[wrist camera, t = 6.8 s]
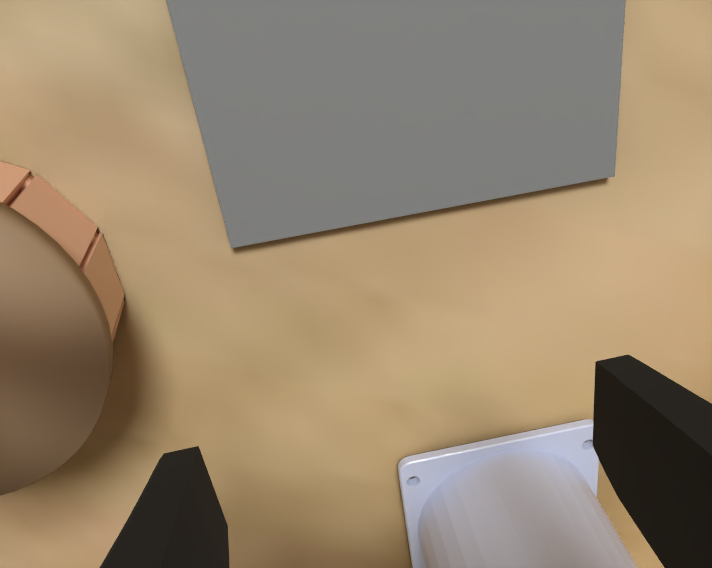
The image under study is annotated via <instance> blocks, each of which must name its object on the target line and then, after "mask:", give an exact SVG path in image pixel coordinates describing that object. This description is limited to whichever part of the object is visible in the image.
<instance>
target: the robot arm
mask: <svg viewBox="0 0 712 568" xmlns="http://www.w3.org/2000/svg"><path fill="white" fill-rule="evenodd" d="M587 440H588V441H587ZM585 441H587V442H585ZM599 460H600V462H601V464H602V466H603V469H604V471H605V473H606V475H607V477H608V479H609V481H610V482H611V484H612V486H613V488H614V490H615V492H616V494H617V496H618V498H619V499H620V501H621V502H622V504H623V505H624V507H625V508H626V510H627V512H628V513H629V515H630V516H631V518H632V519H633V521H634V522H635V524H636V525H637V527H638V528H639V530H640V531H641V533H642V534H643V536H644V537H645V539H646V540H647V542H648V543H649V545H650V546H651V548H652V549H653V551H654V552H655V554H656V555H657V557H658V558H659V560H660V561H661V563H662V564H663V566H664V567H665V568H712V404H711V403H709V402H708V401H706V400H704V399H703V398H701V397H699V396H697V395H696V394H694V393H692V392H691V391H689V390H687V389H686V388H684V387H682V386H681V385H679V384H677V383H676V382H674V381H672V380H671V379H669V378H667V377H666V376H664V375H662V374H661V373H659V372H657V371H656V370H654V369H652V368H651V367H649V366H647V365H646V364H644V363H642V362H640V361H639V360H637V359H635V358H633V357H632V356H630V355H624V356H620V357H615V358H610V359H606V360H601V361H596V366H595V392H594V419H593V420H591V419H585V420H580V421H576V422H571V423H566V424H561V425H556V426H551V427H547V428H542V429H537V430H532V431H527V432H523V433H518V434H513V435H508V436H503V437H498V438H494V439H489V440H484V441H479V442H474V443H470V444H465V445H460V446H455V447H450V448H446V449H441V450H436V451H431V452H426V453H421V454H417V455H412V456H408V457H405V458H403V459H402V460H401V461H400V462H399V464H398V475H399V482H400V488H401V495H402V502H403V509H404V516H405V522H406V529H407V536H408V543H409V549H410V556H411V563H412V568H638V567H637V565H636V563H635V562H634V560H633V558H632V557H631V555H630V553H629V552H628V550H627V548H626V547H625V545H624V543H623V542H622V540H621V538H620V537H619V535H618V533H617V532H616V530H615V528H614V527H613V525H612V523H611V521H610V520H609V518H608V516H607V515H606V513H605V511H604V510H603V508H602V506H601V505H600V503H599V501H598V500H597V485H598V469H599ZM413 476H416V477H415V478H412V479H409V478H410V477H413ZM100 568H229V546H228V525H227V523H226V520H225V517H224V515H223V512H222V509H221V506H220V504H219V501H218V498H217V496H216V493H215V490H214V487H213V485H212V482H211V479H210V476H209V474H208V471H207V468H206V466H205V463H204V460H203V457H202V455H201V452H200V449H199V446H197V447H193V448H188V449H183V450H178V451H174V452H169V453H164V454H163V456H162V457H161V458H160V460H159V462H158V463H157V465H156V467H155V469H154V471H153V473H152V475H151V477H150V479H149V481H148V483H147V485H146V486H145V488H144V490H143V492H142V494H141V496H140V498H139V500H138V502H137V503H136V505H135V507H134V509H133V511H132V513H131V514H130V516H129V518H128V520H127V522H126V523H125V525H124V527H123V529H122V530H121V532H120V534H119V536H118V537H117V539H116V541H115V542H114V544H113V546H112V548H111V549H110V551H109V553H108V555H107V556H106V558H105V560H104V561H103V563H102V565H101V566H100Z"/></svg>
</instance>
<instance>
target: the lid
mask: <svg viewBox="0 0 712 568" xmlns="http://www.w3.org/2000/svg"><path fill="white" fill-rule="evenodd" d="M112 368H113V341H112V337H111V332H110V327H109V322H108V319H107V317H106V314H105V311H104V308H103V306H102V303H101V301H100V299H99V297H98V295H97V293H96V292H95V290H94V288H93V286H92V284H91V282H90V281H89V279H88V278H87V277H86V275H85V274H84V273H83V271H82V270H81V268H80V267H79V266H78V264H77V263H76V262H75V261H74V259H73V258H72V257H71V256H70V255H69V254H68V253H67V252H66V251H65V250H64V249H63V248H62V247H61V245H60V244H59V243H58V242H57V241H55V240H54V239H53V238H52V237H51V236H49V235H48V234H47V233H46V232H45V231H44V230H42V229H41V228H40V227H39V226H38V225H37V224H35V223H34V222H32V221H31V220H29V219H28V218H26V217H25V216H23V215H22V214H20V213H19V212H17V211H16V210H15V209H13V208H11V207H9V206H8V205H6V204H4V203H2V202H0V495H3V494H6V493H10V492H13V491H16V490H18V489H20V488H23V487H25V486H28V485H30V484H32V483H34V482H36V481H38V480H40V479H41V478H43V477H45V476H47V475H49V474H50V473H52V472H53V471H55V470H56V469H57V468H59V467H60V466H61V465H63V464H64V463H65V462H67V461H68V460H69V459H70V458H71V457H72V456H73V455H74V454H75V453H76V452H77V451H78V450H79V449H80V448H81V446H82V445H83V444H84V442H85V441H86V440H87V438H88V437H89V435H90V434H91V433H92V431H93V429H94V427H95V425H96V423H97V421H98V419H99V417H100V415H101V411H102V408H103V405H104V402H105V399H106V395H107V392H108V388H109V385H110V382H111V376H112Z"/></svg>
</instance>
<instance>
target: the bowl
mask: <svg viewBox="0 0 712 568" xmlns="http://www.w3.org/2000/svg"><path fill="white" fill-rule="evenodd" d="M29 172H30V170H27V169H24V168H21V167H17V166H14V165H10V164H7V163H4V162H0V202H2V203H4V204H6V205H8V206H9V207H11V208H13V209H15V210H16V211H17V212H19V213H20V214H22V215H23V216H25V217H26V218H28V219H29V220H31V221H32V222H34V223H35V224H37V225H38V226H39V227H40V228H41V229H42V230H44V231H45V232H46V233H47V234H48V235H49V236H51V237H52V238H53V239H54V240H55V241H57V242H58V243H59V244H60V245H61V247H62V248H63V249H64V250H65V251H66V252H67V253H68V254H69V255H70V256H71V257H72V258H73V259H74V261H75V262H76V263H77V264H78V266H79V267H80V268H81V270H82V271H83V273H84V274H85V275H86V277H87V278H88V279H89V281H90V282H91V284H92V286H93V288H94V290H95V292H96V293H97V295H98V297H99V299H100V301H101V303H102V306H103V308H104V311H105V314H106V317H107V319H108V322H109V327H110V332H111V337H112V341H113V342H114V338H115V334H116V331H117V327H118V324H119V320H120V316H121V313H122V309H123V306H124V302H125V300H123V298H124V295H125V294H124V291H123V289H122V286H121V283H120V280H119V278H118V275H117V272H116V270H115V267H114V264H113V261H112V259H111V256H110V253H109V251H108V248H107V245H106V242H105V240H104V237H103V234H102V233H99V234H97V232H96V230H97V228H98V227H97V226H96V225H95V224H94V223H93V222H91V221H90V220H89V219H88V218H87V217H86V216H85V215H83V214H82V213H81V212H80V211H79V210H78V209H77V208H75V207H74V206H73V205H72V204H71V203H70V202H68V201H67V200H66V199H65V198H64V197H63V196H62V195H60V194H59V193H58V192H57V191H56V190H55V189H54V188H52V187H51V186H50V185H49V184H48V183H47V182H46V181H44V180H43V179H42V178H41V177H40V176H39V175H36V176H35V177H33V176H31V175H29Z"/></svg>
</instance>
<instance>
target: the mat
mask: <svg viewBox="0 0 712 568" xmlns="http://www.w3.org/2000/svg"><path fill="white" fill-rule="evenodd" d="M166 1H167V5H168V9H169V13H170V16H171V20H172V24H173V28H174V32H175V35H176V39H177V43H178V47H179V51H180V55H181V58H182V62H183V66H184V70H185V74H186V77H187V81H188V85H189V89H190V93H191V97H192V100H193V104H194V108H195V112H196V116H197V119H198V123H199V127H200V131H201V135H202V138H203V142H204V146H205V150H206V154H207V158H208V161H209V165H210V169H211V173H212V177H213V180H214V184H215V188H216V192H217V196H218V200H219V203H220V207H221V211H222V215H223V219H224V222H225V226H226V230H227V234H228V238H229V242H230V245H231V248H235V247H241V246H246V245H251V244H257V243H262V242H267V241H273V240H278V239H283V238H289V237H294V236H299V235H305V234H310V233H315V232H321V231H326V230H331V229H337V228H342V227H347V226H353V225H358V224H363V223H369V222H374V221H379V220H385V219H390V218H395V217H401V216H406V215H411V214H417V213H422V212H427V211H433V210H438V209H443V208H449V207H454V206H459V205H464V204H470V203H475V202H480V201H486V200H491V199H496V198H502V197H507V196H512V195H518V194H523V193H528V192H534V191H539V190H544V189H550V188H555V187H560V186H566V185H571V184H576V183H582V182H587V181H592V180H598V179H603V178H608V177H614V176H615V164H616V147H617V131H618V115H619V99H620V83H621V66H622V50H623V34H624V18H625V2H626V0H166Z"/></svg>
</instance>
